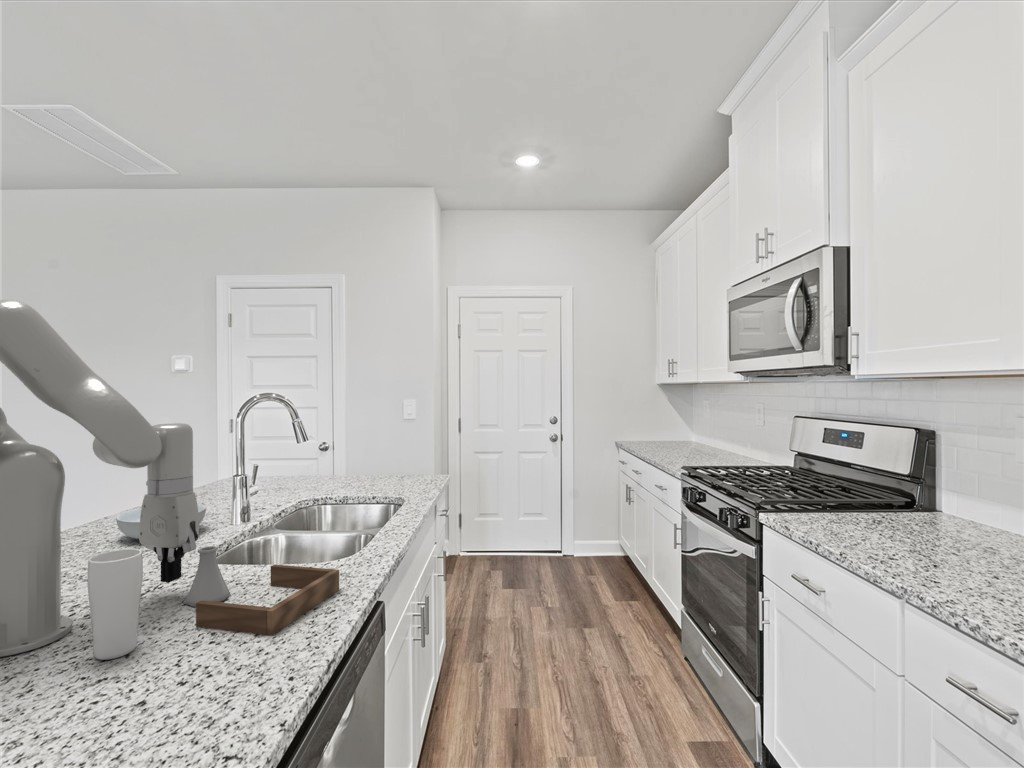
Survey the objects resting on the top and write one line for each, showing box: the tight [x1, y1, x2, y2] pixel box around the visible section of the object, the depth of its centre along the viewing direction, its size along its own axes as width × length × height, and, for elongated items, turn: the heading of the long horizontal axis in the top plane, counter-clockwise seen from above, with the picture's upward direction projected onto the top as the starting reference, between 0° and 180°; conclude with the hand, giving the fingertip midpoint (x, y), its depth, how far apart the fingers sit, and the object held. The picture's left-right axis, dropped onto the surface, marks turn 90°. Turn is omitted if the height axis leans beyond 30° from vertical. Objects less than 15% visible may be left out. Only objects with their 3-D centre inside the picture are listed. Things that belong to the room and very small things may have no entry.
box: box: [195, 564, 340, 636], centre depth 97 cm, size 20×15×4 cm
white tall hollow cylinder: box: [86, 548, 144, 661], centre depth 80 cm, size 7×7×15 cm
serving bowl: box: [115, 503, 207, 540], centre depth 145 cm, size 21×21×7 cm
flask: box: [184, 545, 231, 608], centre depth 100 cm, size 7×7×10 cm
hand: (171, 579), depth 102 cm, fingers closed
